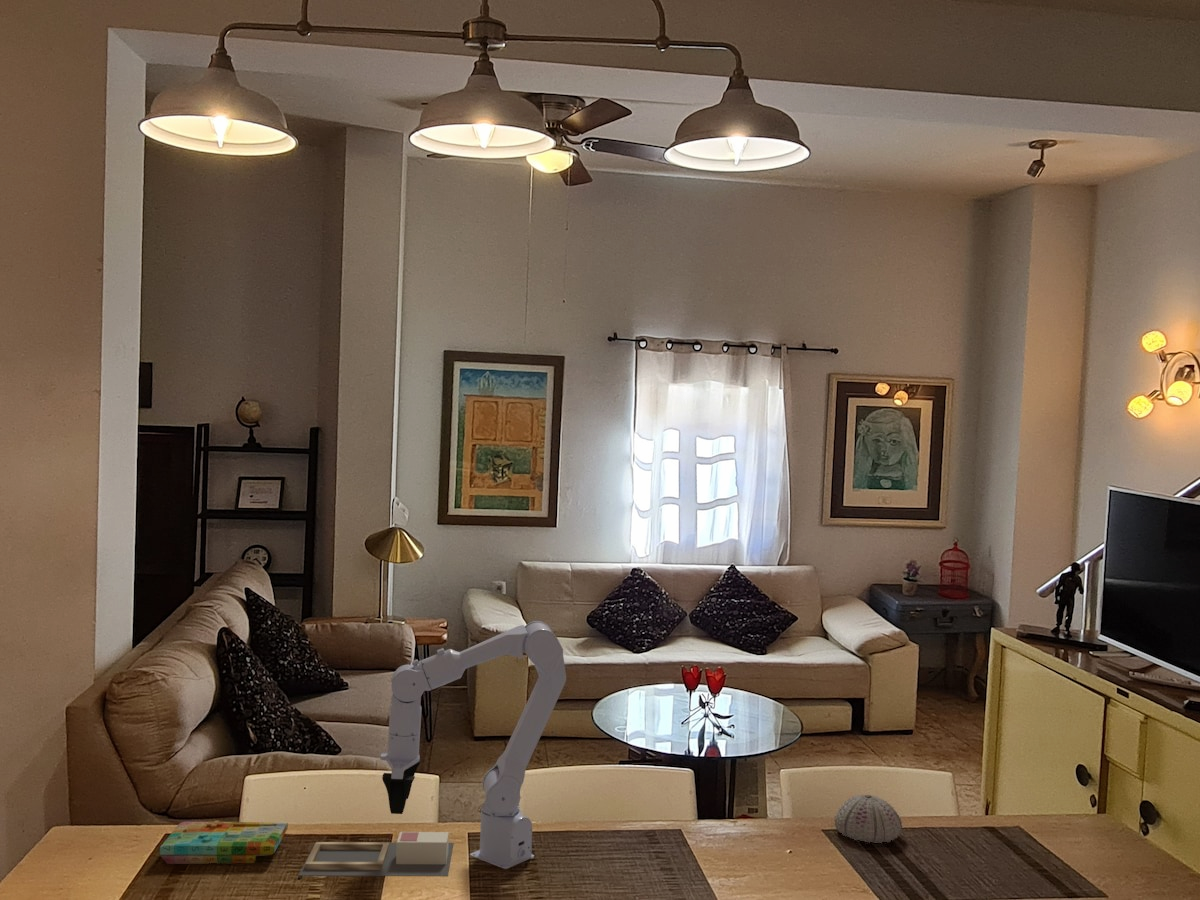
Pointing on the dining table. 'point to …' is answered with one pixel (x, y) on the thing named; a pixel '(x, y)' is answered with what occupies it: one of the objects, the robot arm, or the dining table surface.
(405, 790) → the robot arm
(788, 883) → the dining table surface
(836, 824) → the sea urchin shell
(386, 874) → the mat
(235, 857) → the puzzle game
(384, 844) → the frame
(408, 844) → the card box
